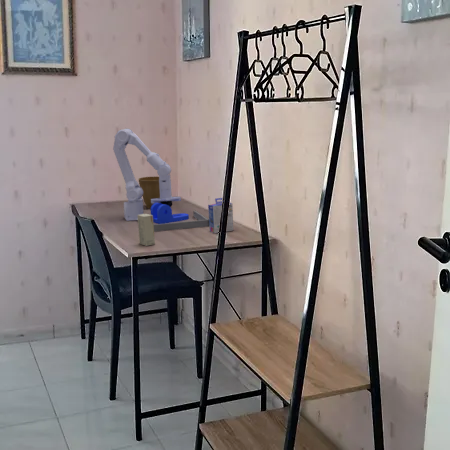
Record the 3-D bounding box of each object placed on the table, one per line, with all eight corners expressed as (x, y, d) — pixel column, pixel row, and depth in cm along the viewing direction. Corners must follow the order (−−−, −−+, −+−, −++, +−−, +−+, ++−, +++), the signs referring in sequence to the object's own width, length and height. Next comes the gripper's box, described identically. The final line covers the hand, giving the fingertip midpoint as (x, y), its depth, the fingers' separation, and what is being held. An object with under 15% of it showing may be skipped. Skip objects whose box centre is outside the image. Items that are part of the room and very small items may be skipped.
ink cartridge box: (228, 228, 282) (227, 196, 279) (234, 230, 277) (233, 198, 274) (208, 231, 277) (207, 199, 274) (214, 233, 272) (213, 200, 269)
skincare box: (155, 244, 256) (153, 215, 253) (145, 246, 254) (143, 216, 251) (148, 241, 261) (146, 213, 259) (138, 243, 259) (137, 214, 256)
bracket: (159, 224, 295) (158, 205, 294) (151, 222, 302) (150, 203, 300) (192, 219, 306) (191, 201, 304) (183, 216, 312) (182, 198, 310)
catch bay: (148, 232, 279) (148, 225, 279) (138, 221, 303) (138, 215, 302) (210, 226, 287) (209, 219, 287) (195, 216, 311) (195, 210, 310)
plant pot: (136, 210, 333) (134, 180, 330) (145, 205, 347) (143, 176, 344) (162, 210, 330) (161, 180, 327) (171, 205, 344) (169, 176, 341)
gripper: (152, 191, 300) (153, 219, 303) (181, 189, 304) (183, 216, 307) (149, 189, 306) (151, 216, 309) (178, 187, 311) (179, 214, 313)
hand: (166, 216), depth 308 cm, fingers closed, pressing on bracket
